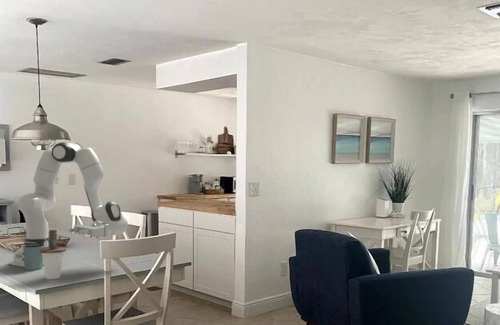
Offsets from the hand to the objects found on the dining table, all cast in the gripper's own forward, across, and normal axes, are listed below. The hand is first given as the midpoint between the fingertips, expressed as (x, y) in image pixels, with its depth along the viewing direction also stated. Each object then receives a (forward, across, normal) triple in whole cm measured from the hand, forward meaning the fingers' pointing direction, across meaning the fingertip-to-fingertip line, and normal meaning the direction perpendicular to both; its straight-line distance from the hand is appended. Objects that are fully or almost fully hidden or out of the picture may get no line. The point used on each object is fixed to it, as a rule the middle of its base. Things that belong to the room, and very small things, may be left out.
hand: (74, 231), depth 243 cm
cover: (+11, 0, +8) cm, 14 cm away
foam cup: (+11, 0, +21) cm, 24 cm away
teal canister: (+9, -26, +21) cm, 35 cm away
